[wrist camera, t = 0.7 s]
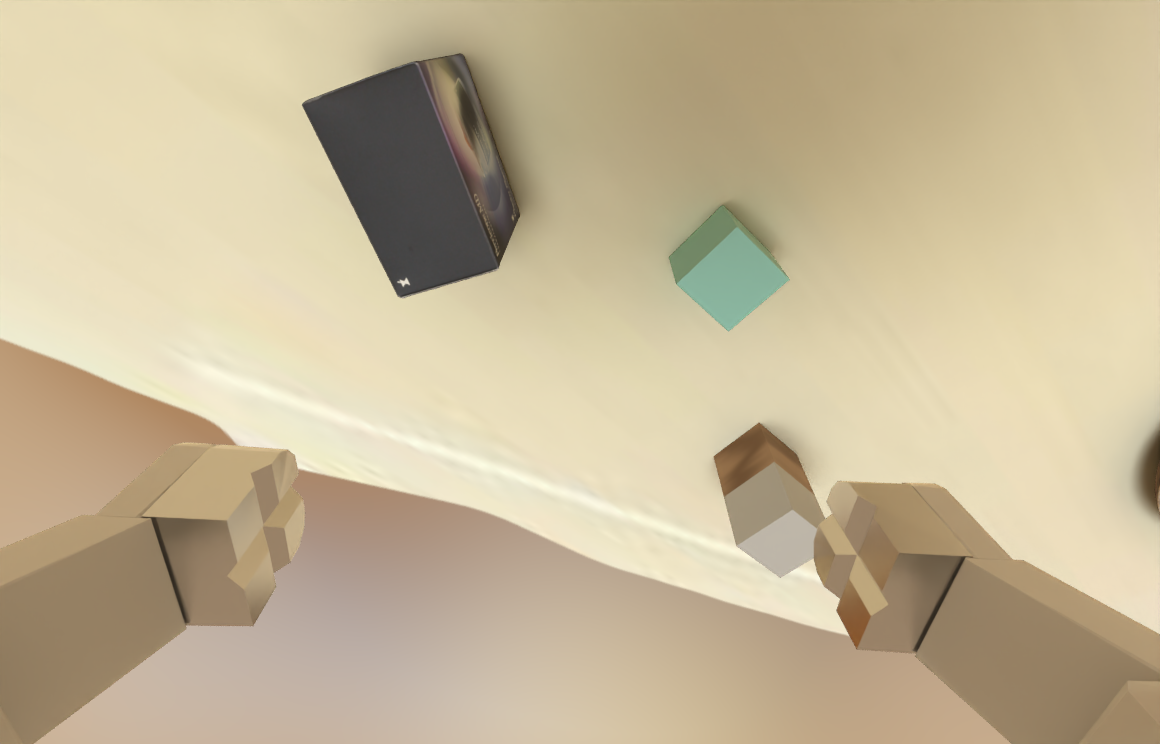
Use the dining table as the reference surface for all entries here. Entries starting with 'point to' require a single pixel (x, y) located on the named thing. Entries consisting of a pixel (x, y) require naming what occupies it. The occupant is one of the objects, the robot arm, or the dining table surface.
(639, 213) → the dining table surface
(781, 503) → the grey mid block
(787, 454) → the walnut base block
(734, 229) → the teal cube
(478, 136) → the small box
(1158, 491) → the plant saucer
